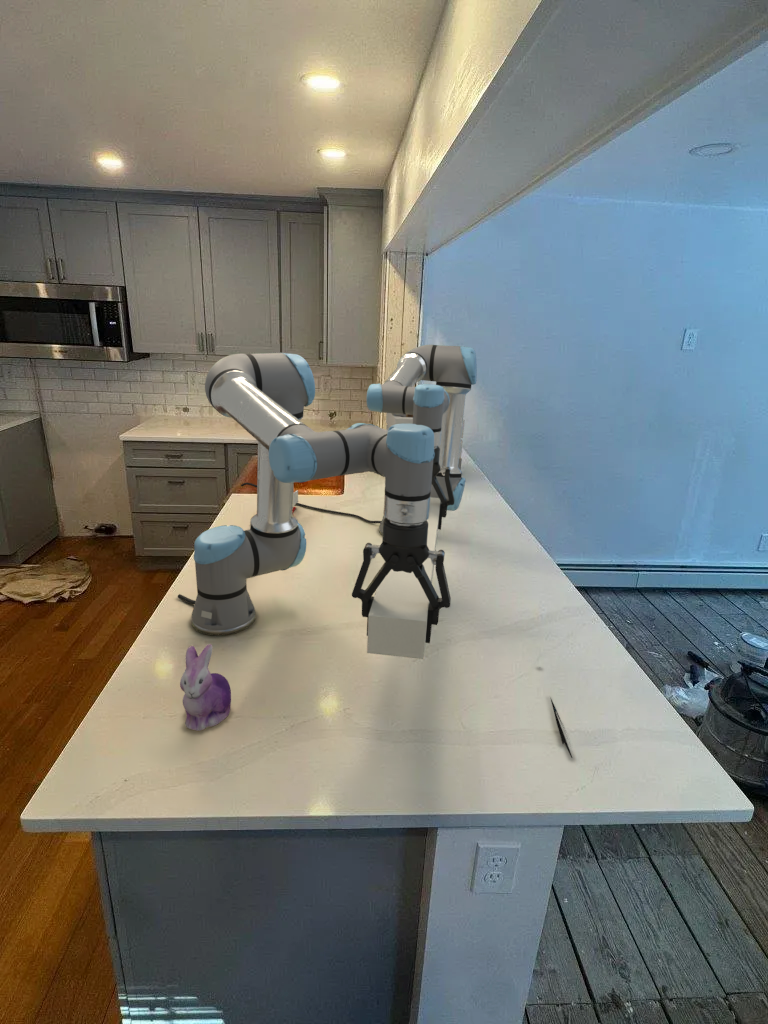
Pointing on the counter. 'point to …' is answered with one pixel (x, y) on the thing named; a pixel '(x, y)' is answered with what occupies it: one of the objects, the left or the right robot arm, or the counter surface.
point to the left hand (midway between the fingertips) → (398, 635)
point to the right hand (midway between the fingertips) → (420, 526)
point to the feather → (560, 728)
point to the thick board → (403, 606)
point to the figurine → (204, 691)
